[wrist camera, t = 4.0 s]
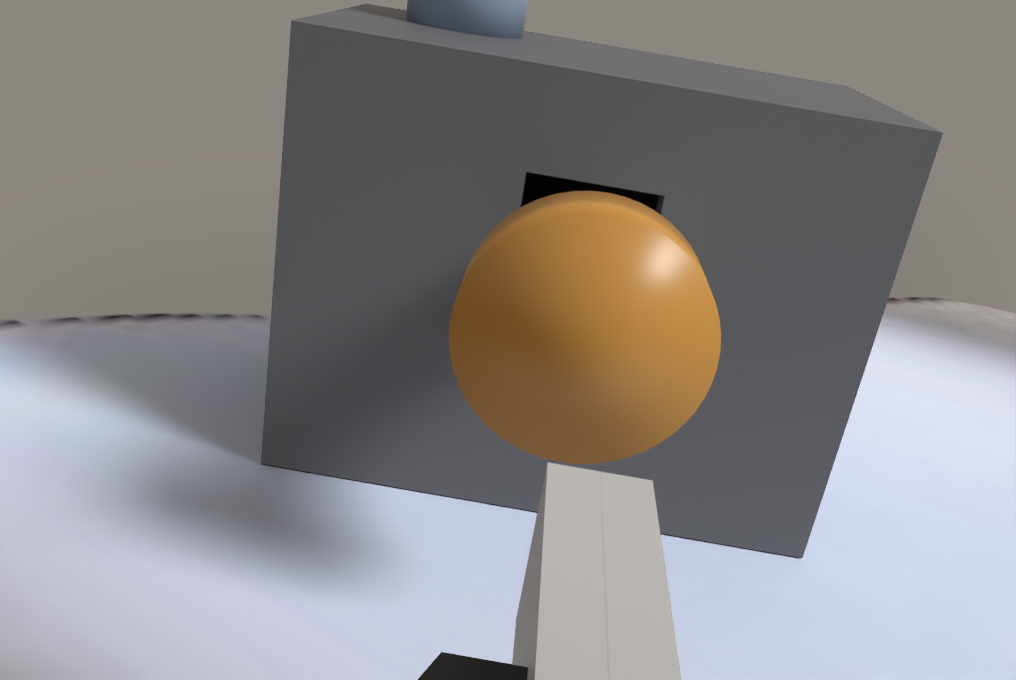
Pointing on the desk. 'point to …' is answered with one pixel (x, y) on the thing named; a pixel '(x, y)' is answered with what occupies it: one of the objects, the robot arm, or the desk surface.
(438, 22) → the knob
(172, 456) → the desk surface
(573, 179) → the housing
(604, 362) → the knob
